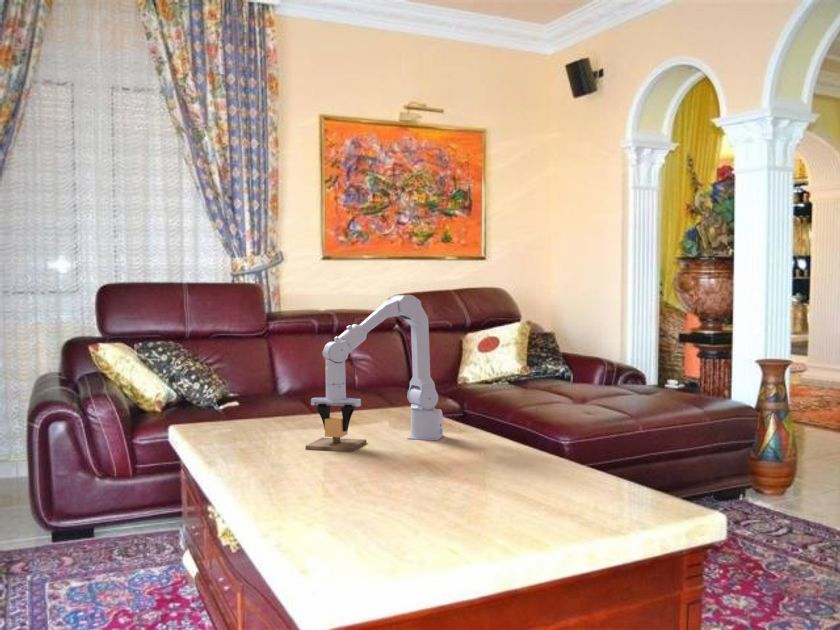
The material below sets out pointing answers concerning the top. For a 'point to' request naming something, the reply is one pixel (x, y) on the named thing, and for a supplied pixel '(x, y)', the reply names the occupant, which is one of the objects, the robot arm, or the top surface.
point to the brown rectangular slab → (336, 444)
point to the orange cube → (334, 427)
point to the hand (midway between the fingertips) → (336, 430)
